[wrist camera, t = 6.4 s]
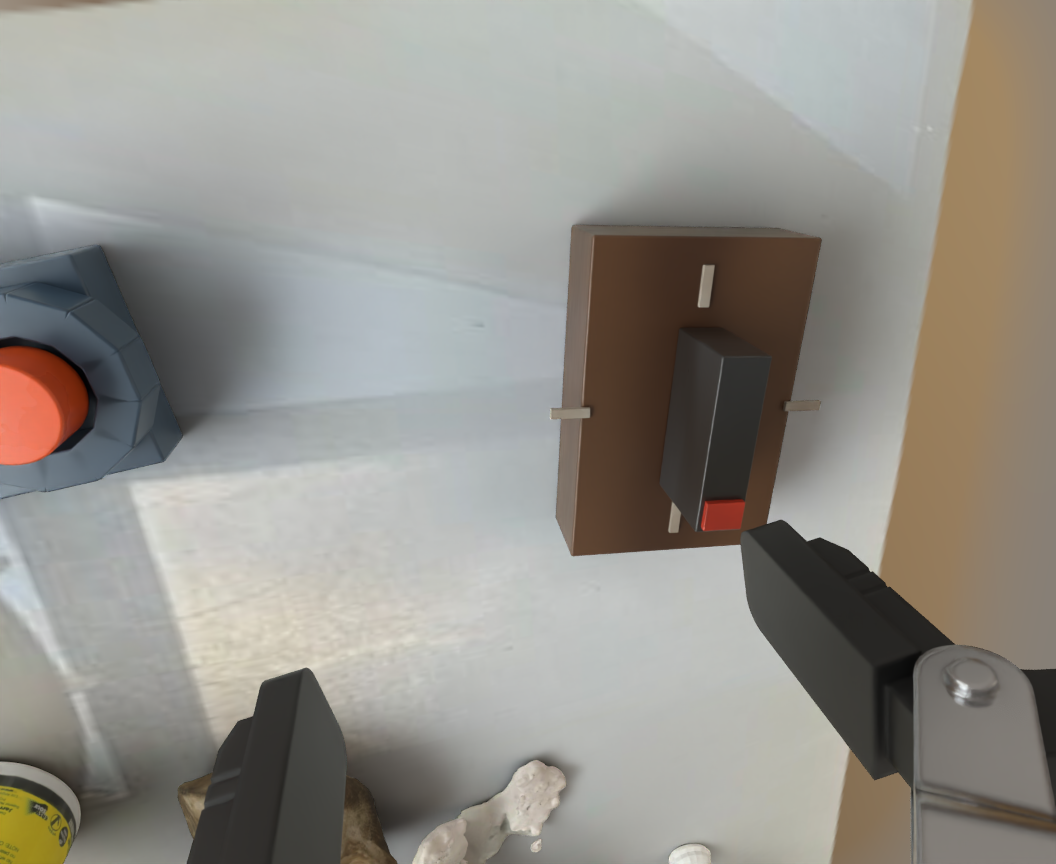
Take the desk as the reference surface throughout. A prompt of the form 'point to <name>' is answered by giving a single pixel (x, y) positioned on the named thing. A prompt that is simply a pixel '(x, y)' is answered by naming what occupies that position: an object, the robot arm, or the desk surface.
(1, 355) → the button
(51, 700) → the desk surface
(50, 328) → the button box
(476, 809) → the rock
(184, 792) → the fossilized seashell
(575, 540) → the panel
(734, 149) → the desk surface
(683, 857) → the chess pawn
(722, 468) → the red-tipped grey bar
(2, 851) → the pill bottle
